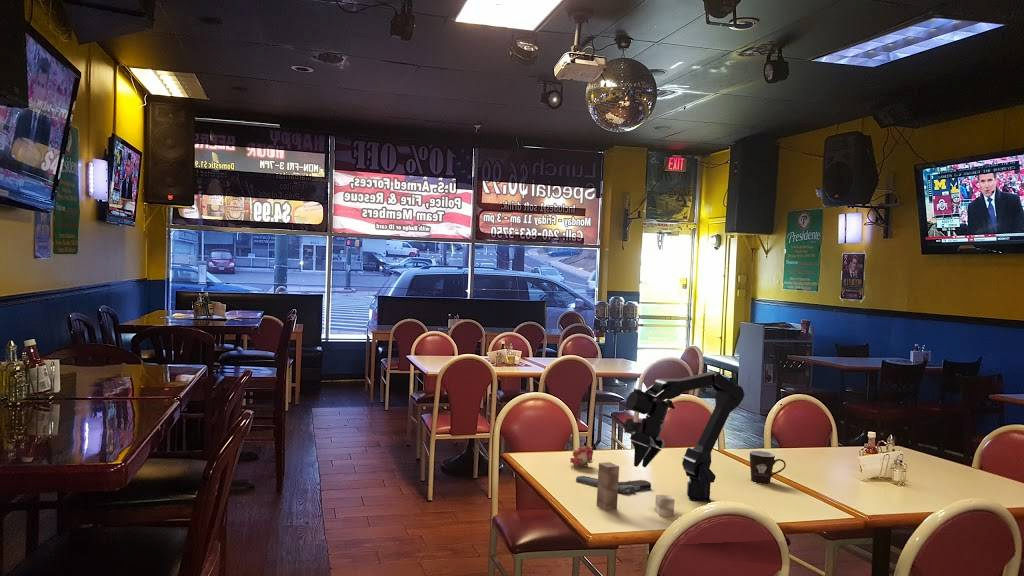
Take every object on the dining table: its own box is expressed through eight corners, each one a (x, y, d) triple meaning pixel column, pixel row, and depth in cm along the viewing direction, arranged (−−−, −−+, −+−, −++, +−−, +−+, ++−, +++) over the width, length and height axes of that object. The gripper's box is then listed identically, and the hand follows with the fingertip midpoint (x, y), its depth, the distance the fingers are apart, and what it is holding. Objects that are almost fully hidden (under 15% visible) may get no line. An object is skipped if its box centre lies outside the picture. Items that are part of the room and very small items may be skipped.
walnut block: (607, 504, 223) (610, 462, 223) (616, 509, 218) (619, 466, 218) (596, 505, 221) (598, 462, 221) (605, 510, 217) (607, 467, 217)
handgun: (597, 469, 258) (574, 475, 247) (653, 481, 243) (632, 488, 233) (596, 477, 258) (574, 483, 247) (653, 489, 243) (632, 497, 233)
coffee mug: (743, 480, 260) (745, 452, 260) (754, 476, 266) (755, 449, 266) (775, 488, 252) (777, 459, 252) (785, 484, 258) (787, 456, 258)
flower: (603, 463, 267) (594, 443, 271) (592, 462, 260) (583, 441, 263) (581, 474, 271) (573, 454, 274) (570, 474, 263) (561, 453, 266)
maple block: (669, 511, 220) (670, 495, 220) (673, 516, 215) (674, 499, 215) (654, 511, 219) (655, 494, 219) (659, 516, 215) (660, 499, 215)
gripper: (639, 412, 240) (624, 458, 239) (622, 407, 224) (606, 456, 222) (671, 423, 235) (656, 470, 233) (656, 419, 218) (640, 469, 217)
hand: (639, 466), depth 227 cm, fingers open, 9 cm apart
